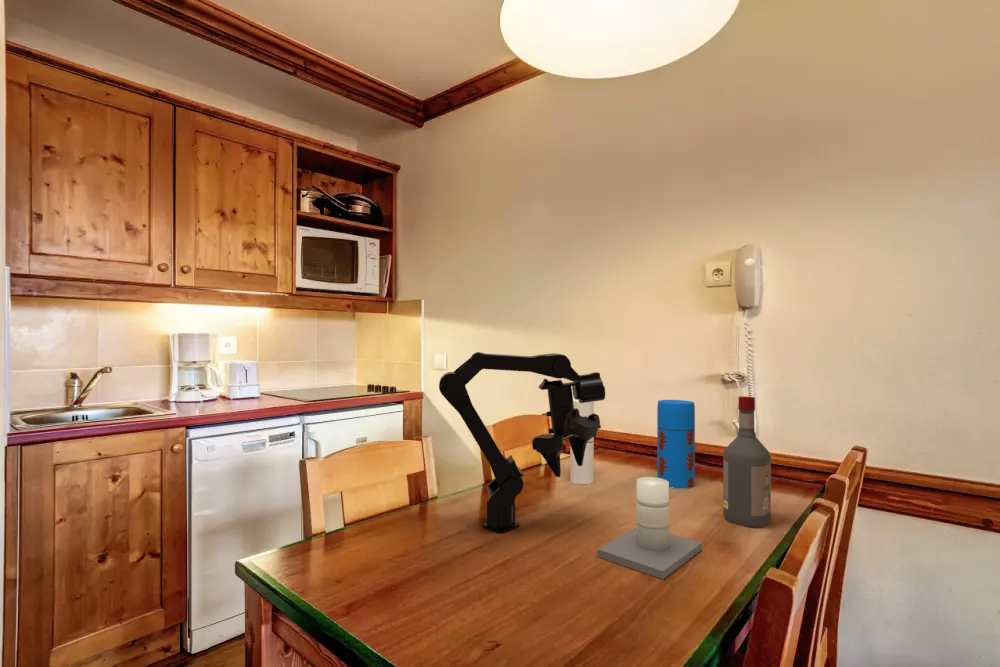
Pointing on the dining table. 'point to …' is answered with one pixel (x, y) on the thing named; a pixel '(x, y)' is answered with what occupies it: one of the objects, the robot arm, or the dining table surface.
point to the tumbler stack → (653, 513)
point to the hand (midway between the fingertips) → (569, 471)
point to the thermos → (676, 442)
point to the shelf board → (649, 554)
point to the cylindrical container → (585, 471)
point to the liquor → (747, 473)
